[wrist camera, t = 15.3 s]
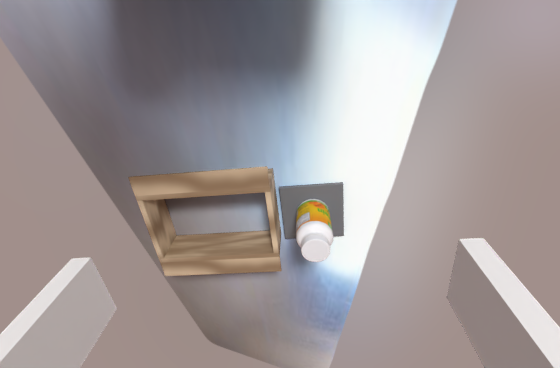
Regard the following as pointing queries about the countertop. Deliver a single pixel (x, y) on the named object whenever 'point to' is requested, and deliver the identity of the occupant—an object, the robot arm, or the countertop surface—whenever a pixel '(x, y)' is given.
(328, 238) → the supplement bottle
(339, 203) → the mat
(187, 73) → the countertop surface
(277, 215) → the wooden frame
